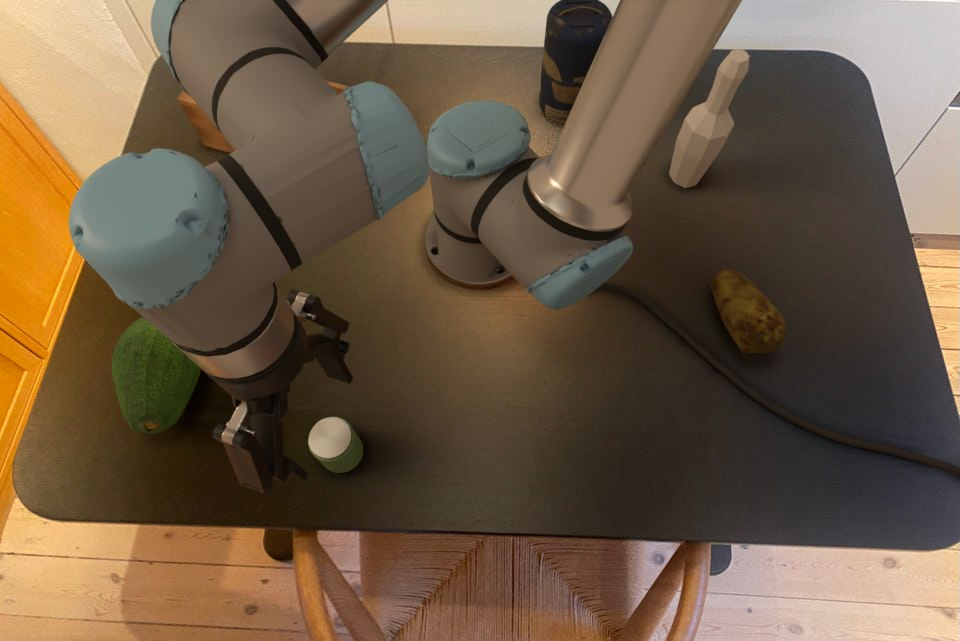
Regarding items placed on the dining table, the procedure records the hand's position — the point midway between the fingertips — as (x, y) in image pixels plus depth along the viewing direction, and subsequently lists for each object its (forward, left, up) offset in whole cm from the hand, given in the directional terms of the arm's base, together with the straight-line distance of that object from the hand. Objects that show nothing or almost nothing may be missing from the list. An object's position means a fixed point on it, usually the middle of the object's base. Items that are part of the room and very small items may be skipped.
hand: (318, 423), depth 63 cm
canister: (-11, -64, -12) cm, 66 cm away
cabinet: (+34, -44, -12) cm, 57 cm away
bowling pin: (-32, -56, -12) cm, 66 cm away
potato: (-43, -33, -12) cm, 56 cm away
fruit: (+24, -1, -12) cm, 27 cm away
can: (0, 0, -12) cm, 12 cm away
